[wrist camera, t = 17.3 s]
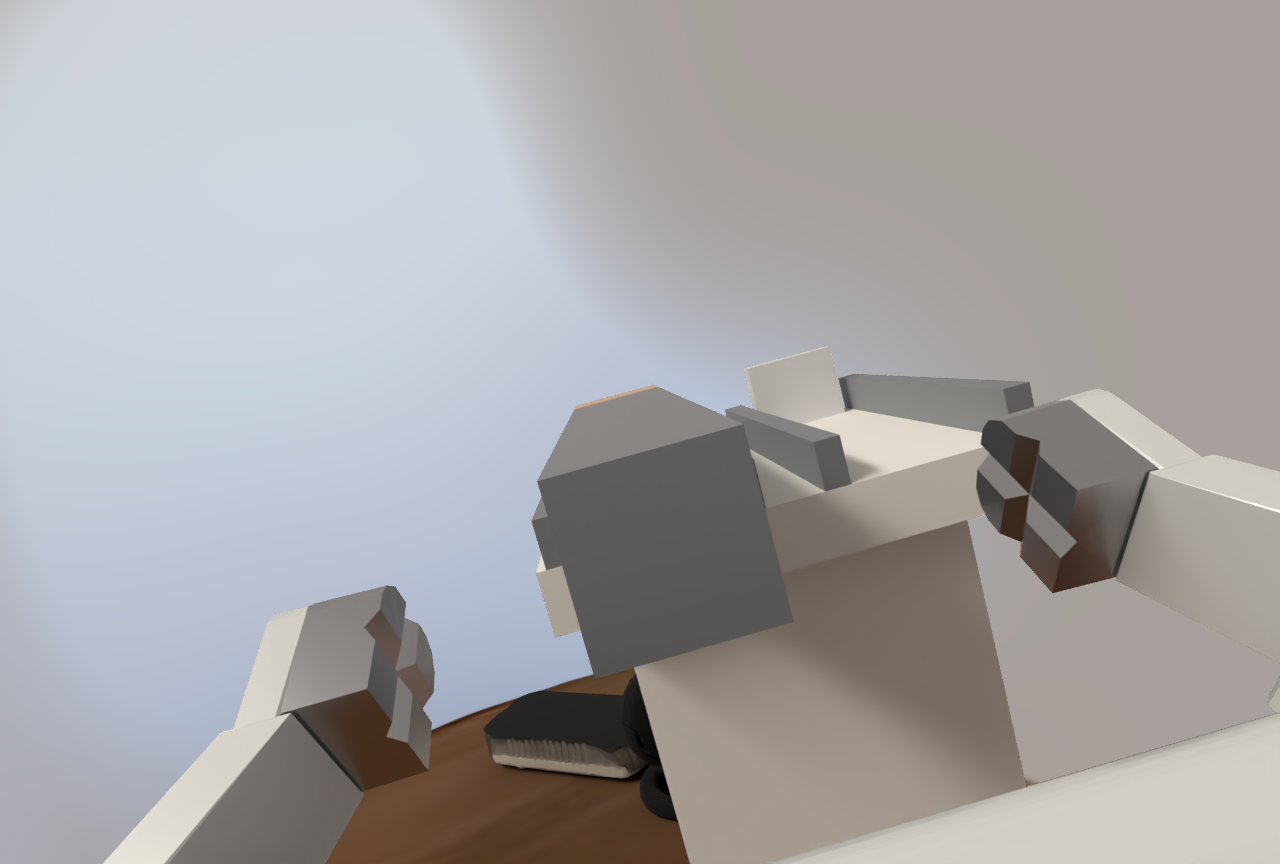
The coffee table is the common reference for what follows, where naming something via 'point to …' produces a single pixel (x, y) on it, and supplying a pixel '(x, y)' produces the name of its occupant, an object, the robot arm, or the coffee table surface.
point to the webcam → (642, 736)
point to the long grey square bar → (660, 529)
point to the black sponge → (563, 735)
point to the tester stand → (841, 624)
